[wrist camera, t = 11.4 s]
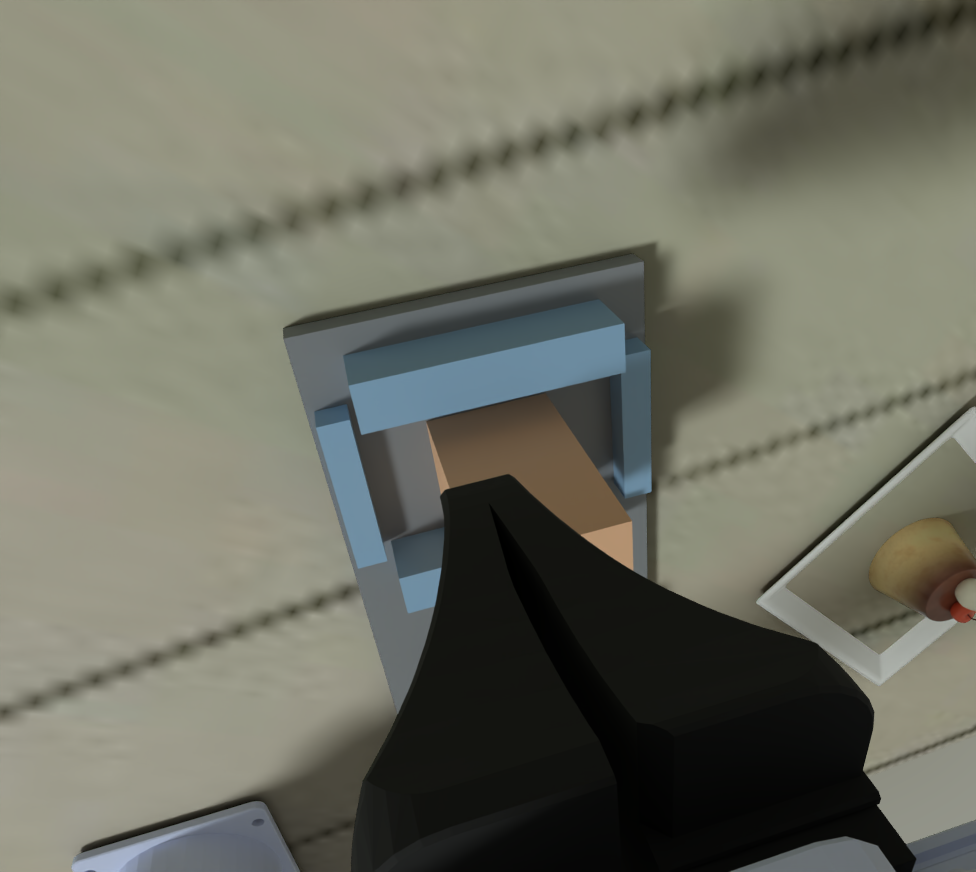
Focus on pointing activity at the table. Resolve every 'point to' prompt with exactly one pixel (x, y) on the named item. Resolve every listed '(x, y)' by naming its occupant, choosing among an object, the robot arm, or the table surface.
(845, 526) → the dessert
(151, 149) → the table surface
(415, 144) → the table surface
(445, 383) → the grey fixture plate
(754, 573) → the table surface
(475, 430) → the tan cardboard block
